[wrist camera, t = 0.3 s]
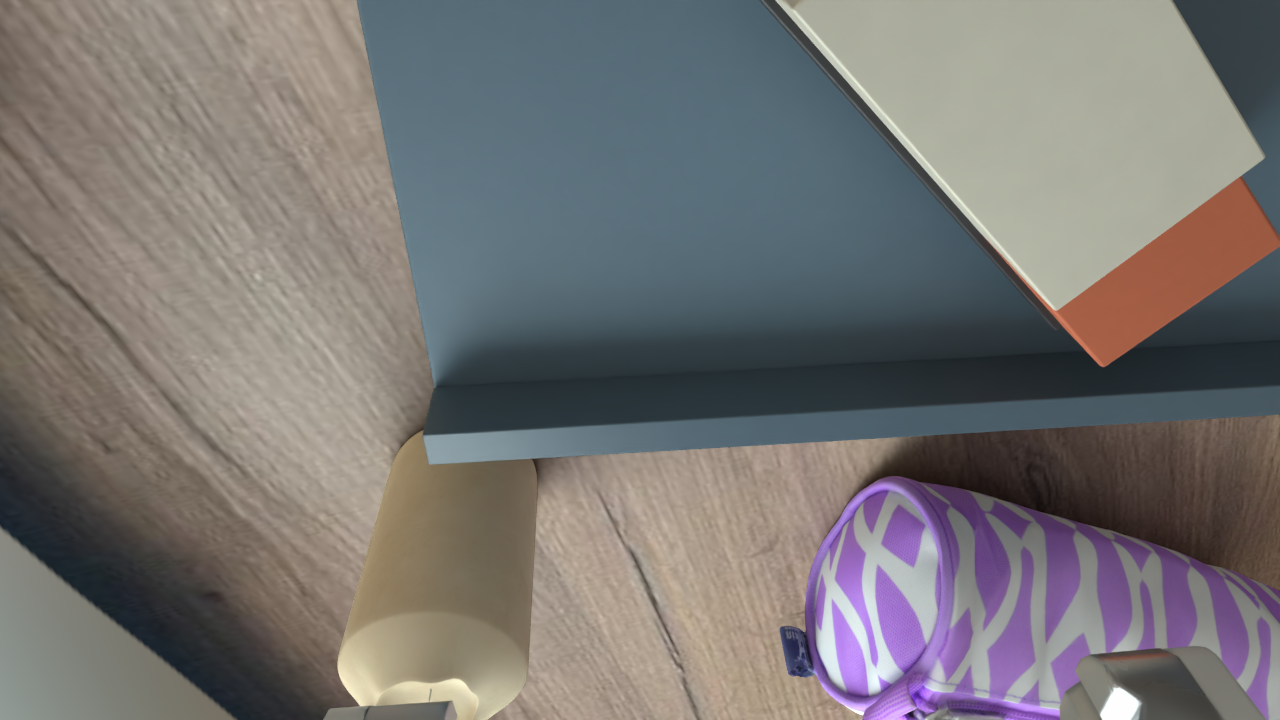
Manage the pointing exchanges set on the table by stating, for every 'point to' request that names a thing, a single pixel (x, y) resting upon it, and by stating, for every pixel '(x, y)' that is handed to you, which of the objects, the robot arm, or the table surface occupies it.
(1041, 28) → the cream and orange block
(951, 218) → the grey lipped base tray
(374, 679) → the candle
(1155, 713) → the robot arm
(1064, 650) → the pencil case
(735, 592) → the table surface
